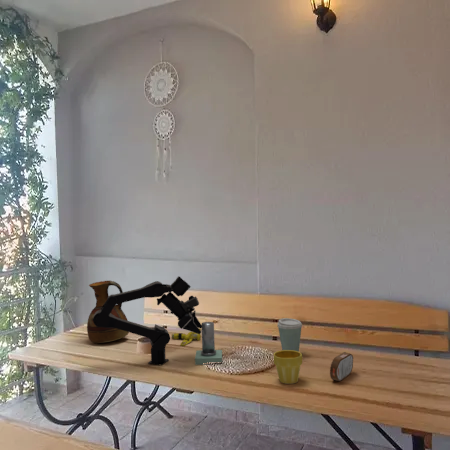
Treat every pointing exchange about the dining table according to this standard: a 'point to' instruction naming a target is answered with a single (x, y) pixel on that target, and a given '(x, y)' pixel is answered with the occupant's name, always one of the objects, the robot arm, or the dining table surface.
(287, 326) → the disposable coffee cup
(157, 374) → the dining table surface
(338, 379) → the tin
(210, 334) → the cylinder
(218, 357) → the green square slab
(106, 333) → the ceramic pitcher
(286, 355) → the plant pot
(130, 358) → the dining table surface
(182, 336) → the sprinkler
